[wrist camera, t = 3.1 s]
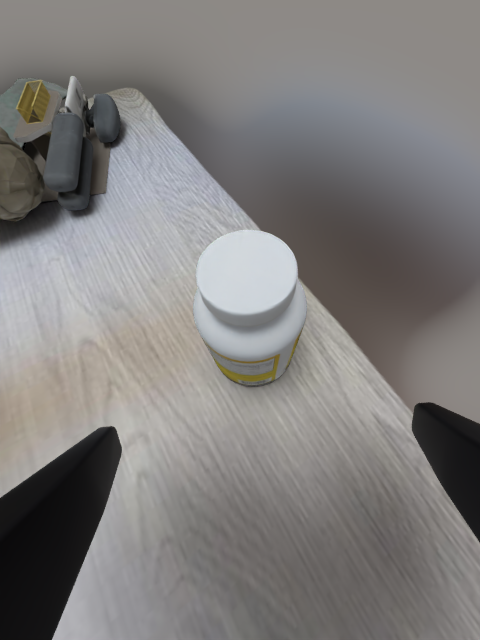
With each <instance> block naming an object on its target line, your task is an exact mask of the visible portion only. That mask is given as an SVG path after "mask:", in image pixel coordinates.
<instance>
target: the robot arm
mask: <svg viewBox="0 0 480 640" xmlns="http://www.w3.org/2000/svg"><path fill="white" fill-rule="evenodd" d="M412 431H413V434H414V436H415V438H416V440H417V442H418V443H419V445H420V447H421V449H422V451H423V452H424V454H425V456H426V458H427V460H428V462H429V463H430V465H431V467H432V469H433V471H434V472H435V474H436V476H437V478H438V480H439V481H440V483H441V485H442V486H443V488H444V490H445V491H446V493H447V494H448V496H449V497H450V499H451V500H452V502H453V503H454V505H455V506H456V508H457V509H458V511H459V512H460V514H461V515H462V517H463V518H464V520H465V521H466V523H467V524H468V526H469V527H470V529H471V530H472V532H473V533H474V534H475V536H476V537H477V539H478V540H479V542H480V424H479V423H476V422H474V421H472V420H470V419H467V418H465V417H463V416H461V415H459V414H456V413H454V412H452V411H450V410H447V409H445V408H443V407H441V406H439V405H436V404H434V403H429V402H428V403H418V404H417V405H415V408H414V413H413V420H412ZM121 453H122V447H121V444H120V440H119V437H118V434H117V431H116V429H115V427H112V426H110V427H100V428H98V429H97V430H96V431H94V432H93V433H91V434H90V435H88V436H87V437H86V438H84V439H83V440H81V441H80V442H79V443H77V444H76V445H74V446H73V447H71V448H70V449H69V450H67V451H66V452H64V453H63V454H62V455H60V456H59V457H57V458H56V459H55V460H53V461H52V462H50V463H49V464H47V465H46V466H45V467H43V468H42V469H40V470H39V471H38V472H36V473H35V474H33V475H32V476H31V477H29V478H28V479H26V480H25V481H23V482H22V483H21V484H19V485H18V486H16V487H15V488H14V489H12V490H11V491H9V492H8V493H6V494H5V495H4V496H2V497H1V498H0V640H52V638H53V636H54V633H55V631H56V628H57V626H58V623H59V621H60V618H61V616H62V613H63V611H64V609H65V606H66V604H67V601H68V599H69V596H70V594H71V591H72V589H73V586H74V584H75V581H76V579H77V577H78V574H79V572H80V569H81V567H82V564H83V562H84V559H85V557H86V554H87V552H88V549H89V547H90V545H91V542H92V540H93V537H94V535H95V532H96V530H97V527H98V525H99V522H100V520H101V517H102V515H103V512H104V510H105V507H106V504H107V501H108V497H109V494H110V491H111V487H112V484H113V481H114V478H115V474H116V471H117V468H118V464H119V461H120V458H121Z"/></svg>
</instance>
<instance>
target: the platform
mask: <svg viewBox="0 0 480 640" xmlns="http://www.w3.org/2000/svg"><path fill="white" fill-rule="evenodd" d="M33 82H34V83H35V82H36V83H37V82H38V84H39V83H40V84H39V85H38V84H37V85H38V86H37V85H36V83H35V84H34V83H33ZM29 83H30V84H29ZM32 83H33V84H34V85H33V84H32ZM28 84H29V85H28ZM31 84H32V85H33V86H32V85H31ZM30 85H31V86H32V88H33V87H34V86H35V85H36V86H37V87H36V86H35V87H36V89H37V88H38V89H37V90H36V89H35V87H34V88H33V89H32V88H31V86H30ZM34 89H35V90H34ZM61 101H62V98H61V96H60V94H59V92H58V91H51V90H47V89H46V88H45V86H44V84H43V82H42V80H38V81H31V82H26V85H25V87H24V90H23V92H22V95H21V97H20V100H19V102H18V105H17V107H16V109H17V110H18V112H19V113H20V115H21V117H20V119H19V122H18V125H17V127H16V130H15V133H14V135H13V137H14V138H15V139H16V140H17V142H18V143H23V142H27V144H26V147H25V150H24V152H25V153H26V154H27V155H28V156H29V157H30V158H31V159H32V160H33V161H34V162H35V163H36V164H37V166H38V170H39V172H40V173H41V174H42V175H43V176H44V170H45V165H46V159H47V154H48V149H49V142H50V137H51V132H52V127H53V121H54V117H55V116H56V115H57V114H58V113H59V109H60V105H61ZM86 138H88V139H89V140H90V141H91V143H92V145H93V159H92V170H91V182H90V194H89V195H94V194H101V193H106V183H107V174H108V164H109V155H110V146H111V142H106V143H101V142H100V141H99V139H98V137H97V134H96V131H95V128H90V135H87V134H86ZM43 180H44V179H43ZM44 184H45V182H44ZM57 197H58V192H56V191H53V190H51V189H50V188H48V187H47V185H46V184H45V187H44V193H43V195H42V198H41V200H42V201H41V202H45V201H52V200H58V199H57Z"/></svg>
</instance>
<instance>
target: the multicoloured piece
mask: <svg viewBox="0 0 480 640" xmlns="http://www.w3.org/2000/svg"><path fill="white" fill-rule="evenodd" d="M44 187H45V184H44V180H43V175H42V174H41V173H40V172H39V170H38V166H37V164H36V163H35V162H34V161H33V160H32V159H31V158H30V157H29V156H28V155H27V154H26V153H25V152H24V151H23V150H22V148H21V147H20V146H19V145H18V144H17V143H15V142H14V141H12V140H11V139H9V136H8V133H7V132H6V131H5V130H4V129H2V128H1V127H0V219H4V220H9V221H18V220H21V219H23V218H25V217H26V215H27V214H28V213H29V212H30V211H31V210H32V209H34V208H36V207H37V206H38V205H39V204H40V203H41V201H42V200H41V198H42V195H43V193H44Z"/></svg>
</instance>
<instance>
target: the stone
mask: <svg viewBox="0 0 480 640" xmlns="http://www.w3.org/2000/svg"><path fill="white" fill-rule="evenodd" d="M38 80H39V79H35V78H31V79H27V78H26V79H25V78H19V79H18V80H16V83H15V84H14V85H13V86H12V87H11V88H10V89H9V90H7V91H6V92H5V93H4V94H2V95H0V127H1V128H2V129H4V130H5V131H6V132H7V133H8V136H9V139H11V140H12V141H14V142H15V143H17V144H18V145H19V146H20V147H21V148H22V147H23V144H24V142H23V143H18V142H17V140H16V139H15V138H14V137H13V135H14V133H15V130H16V127H17V125H18V122H19V119H20V117H21V115H20V113H19V112H18V110H17V109H16V107H17V105H18V102H19V100H20V97H21V95H22V92H23V90H24V87H25V85H26V82H31V81H38ZM42 82H43V84H44V86H45V88H46V89H47V90H51V91H58V92H59V94H60V96H61V98H62V100H63V99H65V98H66V97H67V92H68V89H64V88H62V87H61V86H59V85H56V84H53V83H50V82H47V81H43V80H42ZM33 83H34V82H33ZM33 83H32V84H33ZM35 83H36V82H35ZM35 83H34V84H35ZM29 84H30V83H29ZM29 84H28V85H29ZM32 84H31V85H32ZM34 84H33V85H34ZM37 84H38V82H37V83H36V85H37ZM39 84H40V83H39ZM39 84H38V85H39ZM31 85H30V86H31ZM33 85H32V86H33ZM36 85H35V86H36ZM38 85H37V86H38ZM32 86H31V88H32ZM35 86H34V87H35ZM37 86H36V87H37ZM34 87H33V88H34ZM36 87H35V89H36ZM33 88H32V89H33ZM35 89H34V90H35ZM37 89H38V88H37ZM37 89H36V90H37Z"/></svg>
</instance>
